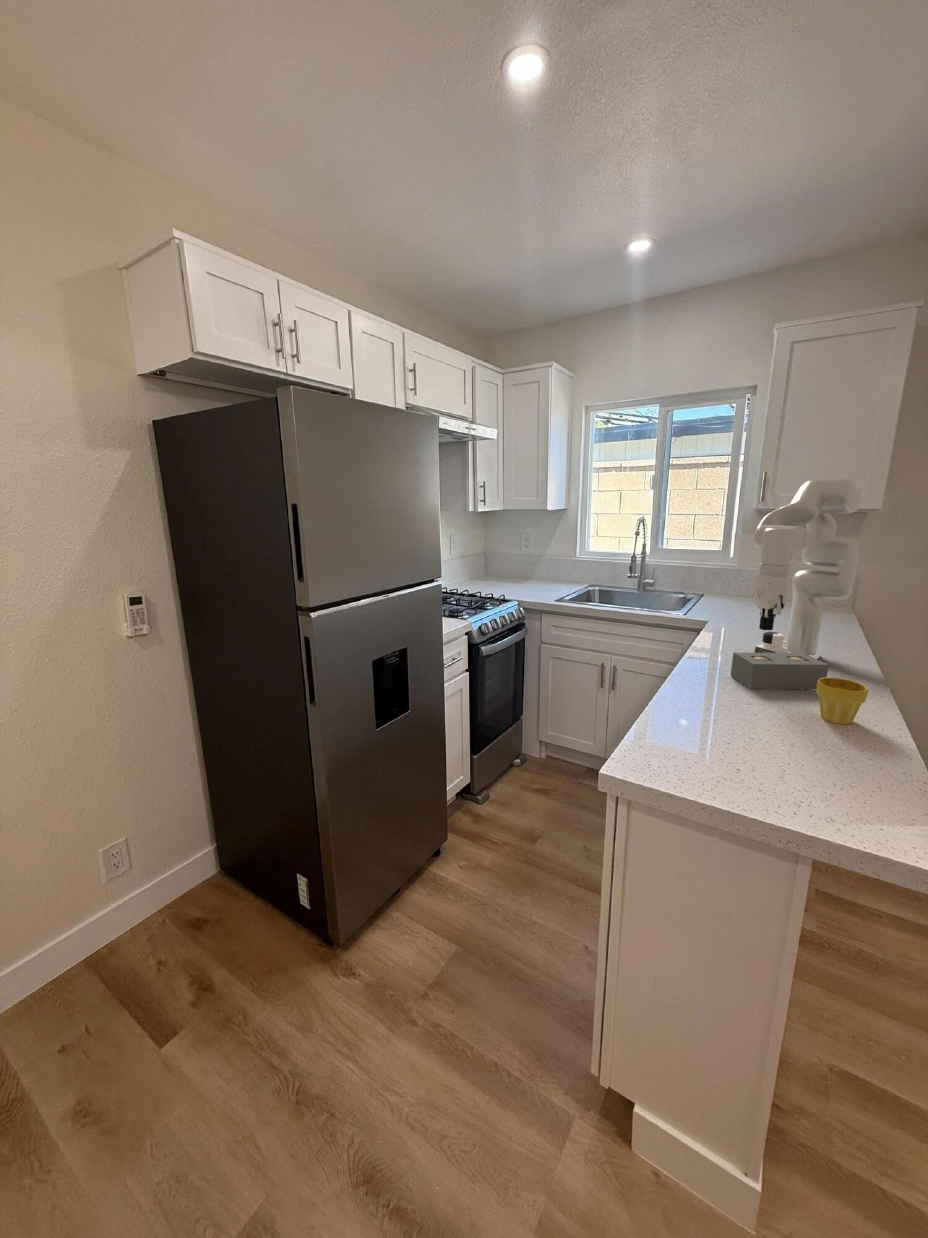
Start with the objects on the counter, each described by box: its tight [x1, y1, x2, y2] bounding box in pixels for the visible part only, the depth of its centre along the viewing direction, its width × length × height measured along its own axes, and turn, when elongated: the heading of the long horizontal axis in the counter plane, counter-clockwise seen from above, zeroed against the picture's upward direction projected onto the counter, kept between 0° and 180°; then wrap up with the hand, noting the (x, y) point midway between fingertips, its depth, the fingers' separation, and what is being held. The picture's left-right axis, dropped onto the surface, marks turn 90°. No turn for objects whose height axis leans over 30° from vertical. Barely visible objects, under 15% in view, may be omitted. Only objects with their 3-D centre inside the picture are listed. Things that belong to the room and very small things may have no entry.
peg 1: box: [754, 657, 768, 661], centre depth 154 cm, size 4×4×7 cm
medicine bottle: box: [754, 631, 789, 653], centre depth 169 cm, size 7×7×12 cm
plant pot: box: [815, 676, 869, 725], centre depth 127 cm, size 10×10×10 cm
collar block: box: [730, 651, 830, 690], centre depth 154 cm, size 12×22×8 cm, turn 88°
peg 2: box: [790, 657, 805, 661], centre depth 154 cm, size 4×4×7 cm
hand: (765, 629), depth 152 cm, fingers closed
